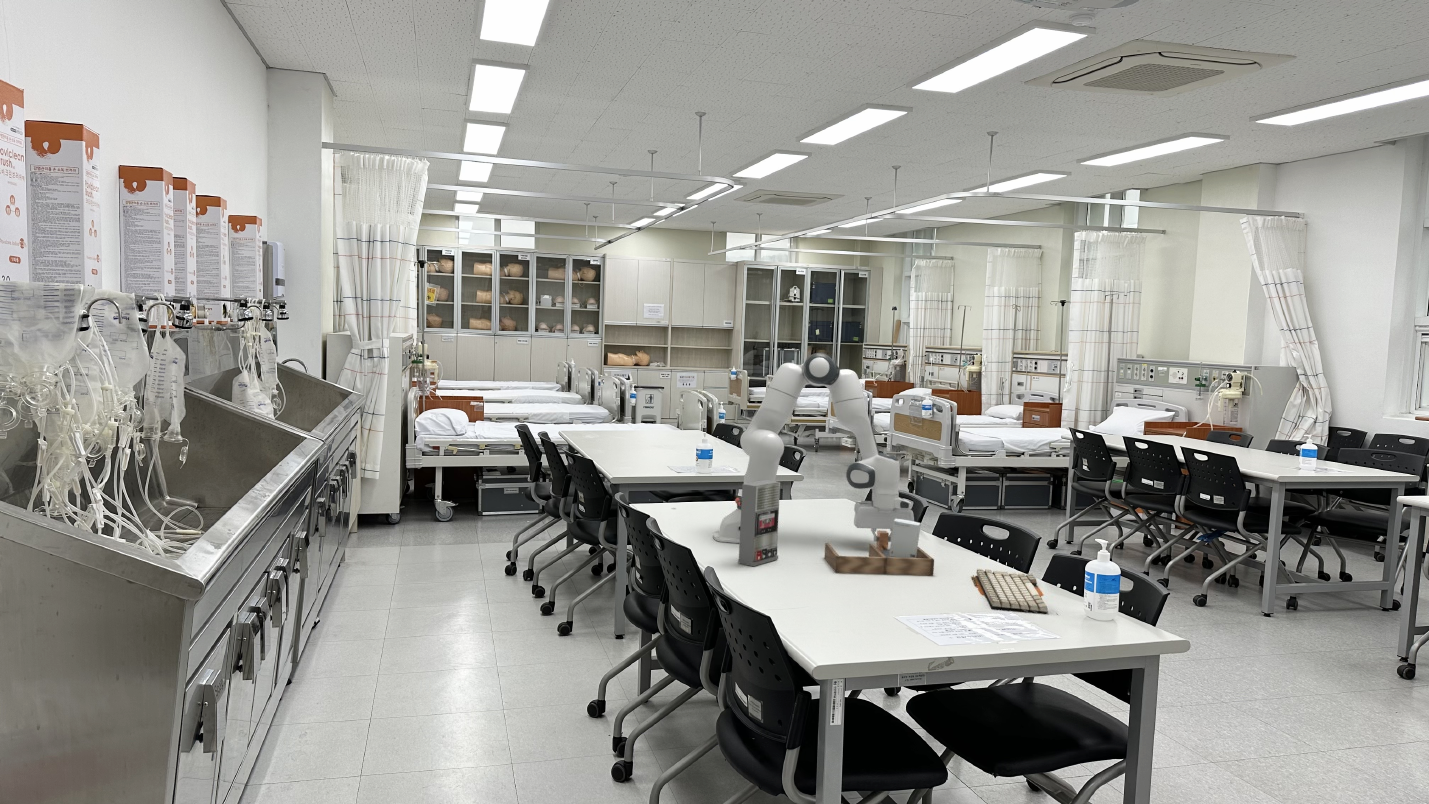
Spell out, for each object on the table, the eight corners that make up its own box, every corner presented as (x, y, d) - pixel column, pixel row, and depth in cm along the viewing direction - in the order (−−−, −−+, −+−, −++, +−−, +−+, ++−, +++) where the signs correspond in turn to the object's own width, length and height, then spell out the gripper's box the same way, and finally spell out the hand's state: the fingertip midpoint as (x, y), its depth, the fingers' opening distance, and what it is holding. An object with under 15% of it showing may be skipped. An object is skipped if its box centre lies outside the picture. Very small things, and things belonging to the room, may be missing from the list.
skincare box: (887, 567, 280) (891, 520, 279) (889, 563, 286) (894, 517, 285) (914, 571, 278) (919, 524, 277) (916, 567, 283) (921, 521, 282)
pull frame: (888, 571, 275) (889, 552, 275) (863, 547, 308) (864, 529, 308) (925, 572, 276) (926, 553, 276) (897, 548, 309) (898, 531, 308)
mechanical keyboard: (1060, 618, 237) (1061, 605, 237) (986, 612, 240) (987, 599, 240) (1032, 582, 275) (1033, 571, 274) (968, 577, 278) (969, 567, 277)
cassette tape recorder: (754, 567, 275) (758, 486, 273) (737, 563, 278) (741, 484, 277) (778, 560, 286) (782, 482, 284) (762, 556, 289) (766, 479, 288)
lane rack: (835, 572, 272) (836, 556, 272) (824, 557, 291) (825, 542, 291) (933, 575, 274) (934, 559, 274) (915, 560, 293) (916, 545, 293)
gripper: (856, 501, 301) (854, 542, 302) (916, 504, 302) (914, 544, 303) (852, 498, 307) (850, 538, 308) (911, 500, 309) (909, 540, 310)
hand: (882, 541), depth 306 cm, fingers closed on pull frame, 3 cm apart
